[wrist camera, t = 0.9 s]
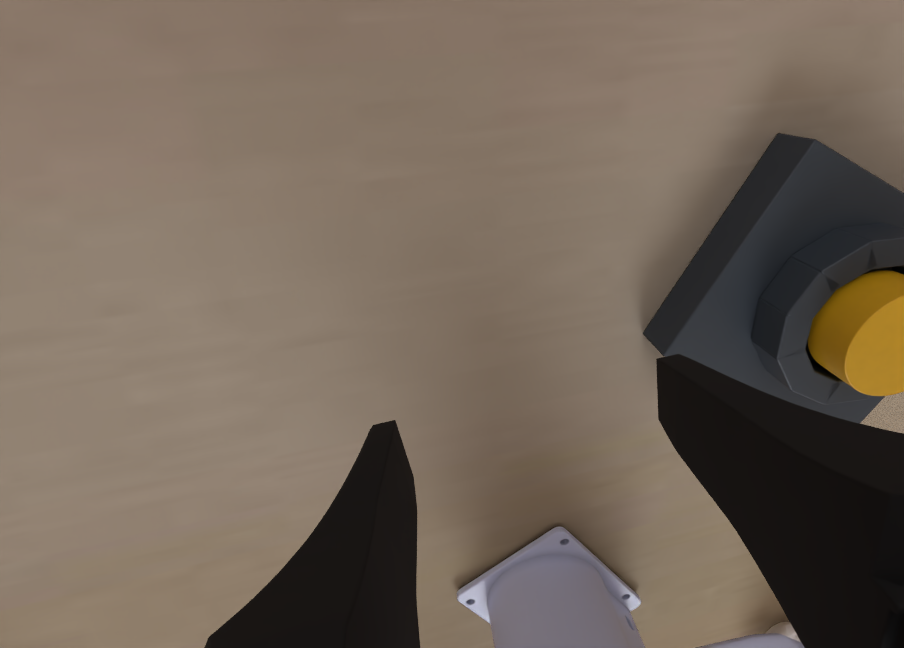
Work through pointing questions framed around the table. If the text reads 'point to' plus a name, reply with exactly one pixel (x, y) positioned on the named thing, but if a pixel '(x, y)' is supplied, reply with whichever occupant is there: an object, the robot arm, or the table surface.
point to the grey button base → (784, 273)
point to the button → (863, 333)
